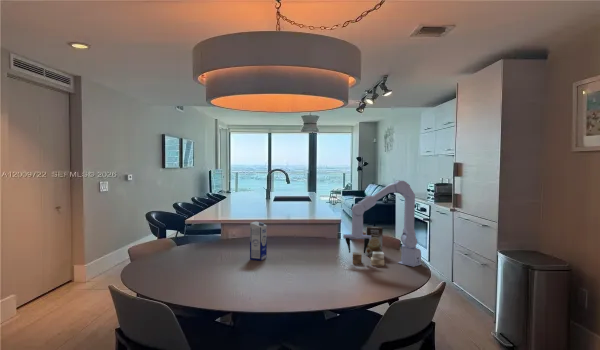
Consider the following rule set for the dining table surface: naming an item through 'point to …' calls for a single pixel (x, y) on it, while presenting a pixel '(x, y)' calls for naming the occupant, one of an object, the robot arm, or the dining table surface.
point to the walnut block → (357, 258)
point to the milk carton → (258, 241)
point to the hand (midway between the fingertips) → (357, 252)
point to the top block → (378, 255)
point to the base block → (377, 262)
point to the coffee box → (374, 240)
